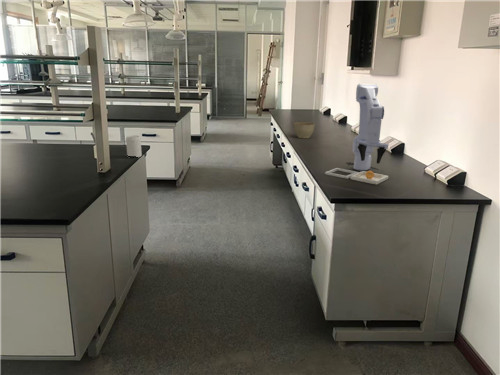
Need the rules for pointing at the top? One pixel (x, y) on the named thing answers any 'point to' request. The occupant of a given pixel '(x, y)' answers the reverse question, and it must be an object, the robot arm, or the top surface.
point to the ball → (369, 174)
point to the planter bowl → (304, 129)
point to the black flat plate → (353, 164)
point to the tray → (342, 171)
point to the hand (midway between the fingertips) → (370, 161)
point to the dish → (375, 180)
